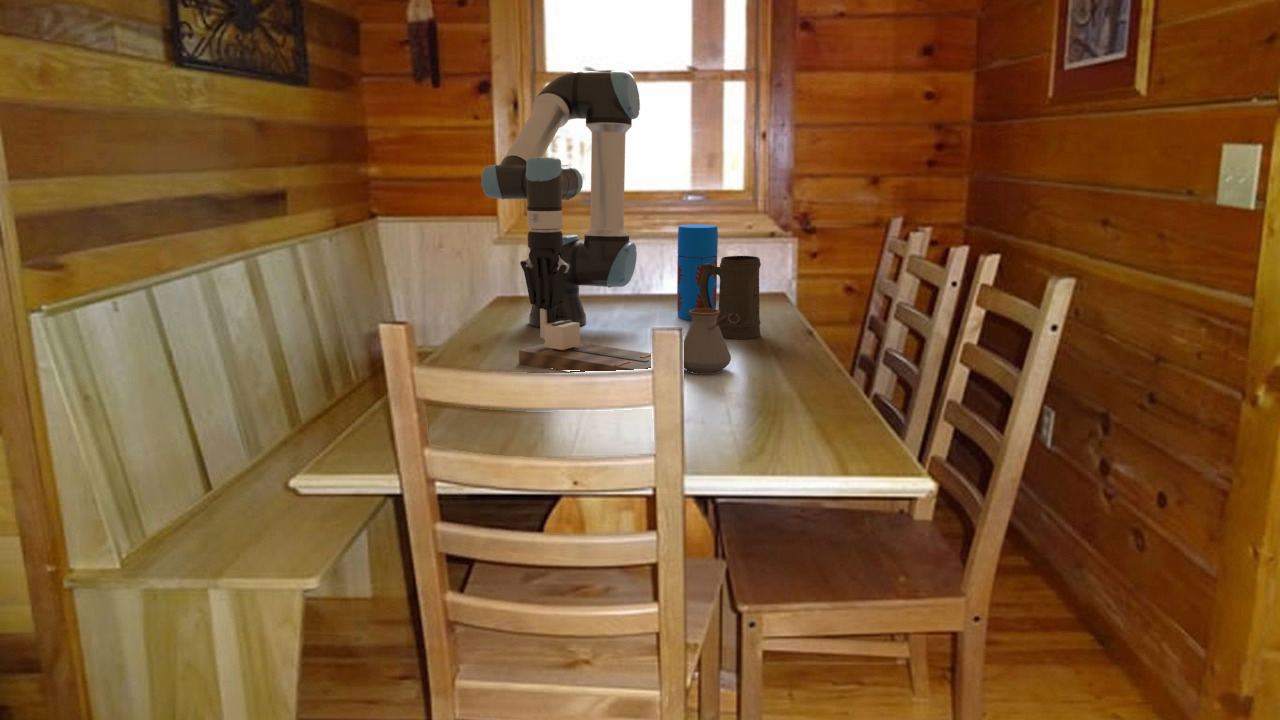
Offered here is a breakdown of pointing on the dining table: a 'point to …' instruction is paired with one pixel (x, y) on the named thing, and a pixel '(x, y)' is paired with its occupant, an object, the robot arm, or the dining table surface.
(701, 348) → the coffee pot
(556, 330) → the fader knob
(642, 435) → the dining table surface
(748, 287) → the beer stein
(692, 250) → the thermos
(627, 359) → the fader panel
